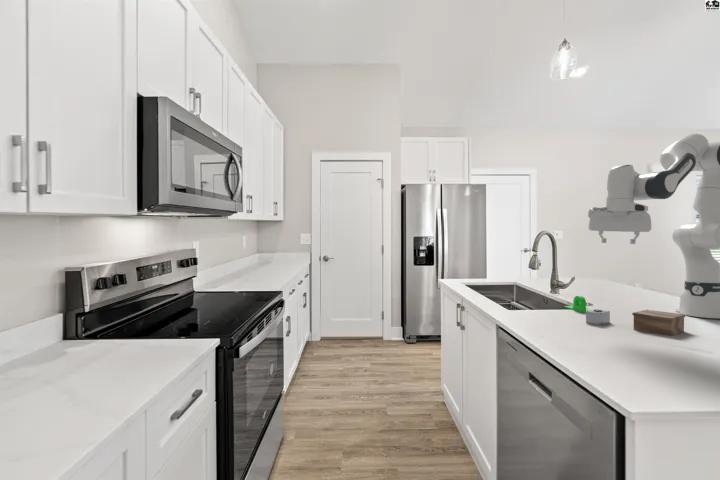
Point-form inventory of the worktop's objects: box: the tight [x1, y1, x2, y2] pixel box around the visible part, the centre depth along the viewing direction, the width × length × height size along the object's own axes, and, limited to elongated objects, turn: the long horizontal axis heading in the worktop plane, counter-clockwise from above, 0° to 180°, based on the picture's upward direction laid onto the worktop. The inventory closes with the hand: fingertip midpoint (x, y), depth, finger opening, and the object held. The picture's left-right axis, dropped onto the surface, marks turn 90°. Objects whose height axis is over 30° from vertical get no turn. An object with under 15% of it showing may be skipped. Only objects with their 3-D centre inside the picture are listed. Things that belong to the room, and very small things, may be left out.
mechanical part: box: [563, 295, 591, 313], centre depth 182 cm, size 12×6×8 cm, turn 9°
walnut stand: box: [631, 309, 686, 337], centre depth 146 cm, size 12×12×6 cm
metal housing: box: [585, 309, 611, 326], centre depth 158 cm, size 8×5×5 cm, turn 124°
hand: (618, 243), depth 155 cm, fingers open, 8 cm apart
